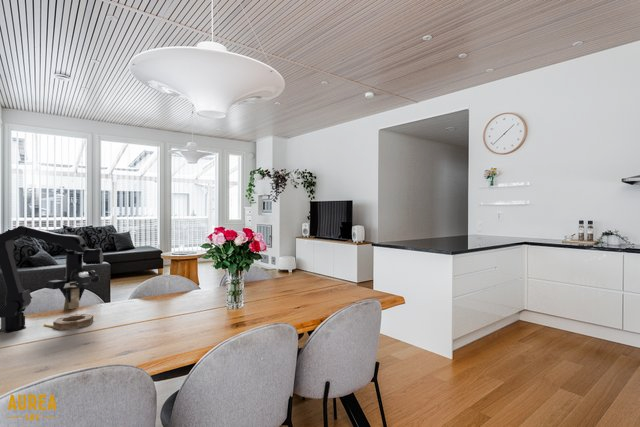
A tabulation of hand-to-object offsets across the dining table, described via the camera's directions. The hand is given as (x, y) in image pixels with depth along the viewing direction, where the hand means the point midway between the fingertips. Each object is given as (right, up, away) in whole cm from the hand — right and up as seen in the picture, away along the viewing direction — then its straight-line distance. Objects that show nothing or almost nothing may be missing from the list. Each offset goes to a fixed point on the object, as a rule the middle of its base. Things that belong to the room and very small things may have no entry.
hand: (73, 301), depth 146 cm
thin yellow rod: (-8, -10, -3) cm, 13 cm away
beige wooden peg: (0, -3, 0) cm, 2 cm away
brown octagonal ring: (0, -10, 0) cm, 10 cm away
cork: (-20, -10, +26) cm, 34 cm away
